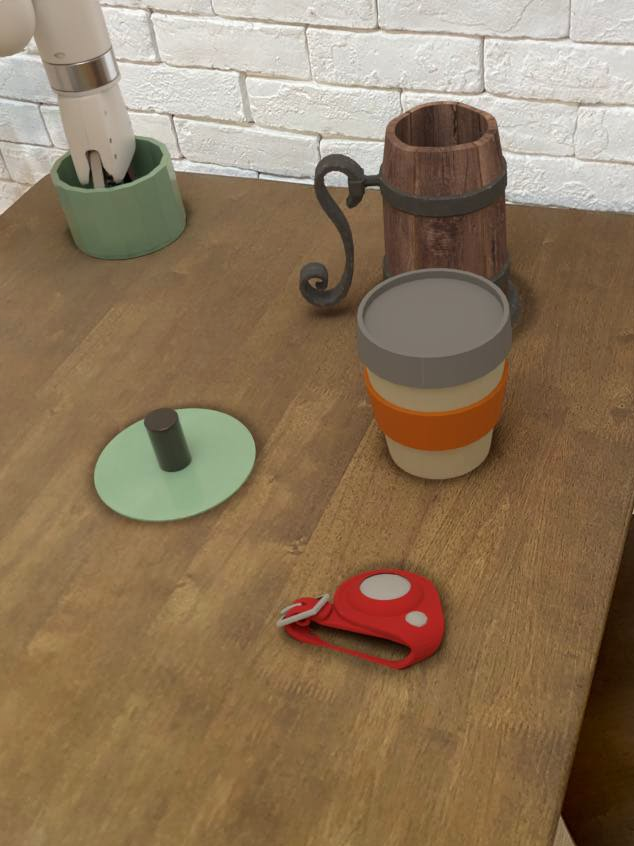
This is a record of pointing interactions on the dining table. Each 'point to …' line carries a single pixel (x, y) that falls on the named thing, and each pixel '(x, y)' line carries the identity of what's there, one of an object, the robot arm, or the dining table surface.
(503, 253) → the tankard
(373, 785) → the dining table surface
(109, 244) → the pot
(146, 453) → the lid
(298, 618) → the tracker holder
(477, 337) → the reusable coffee cup
